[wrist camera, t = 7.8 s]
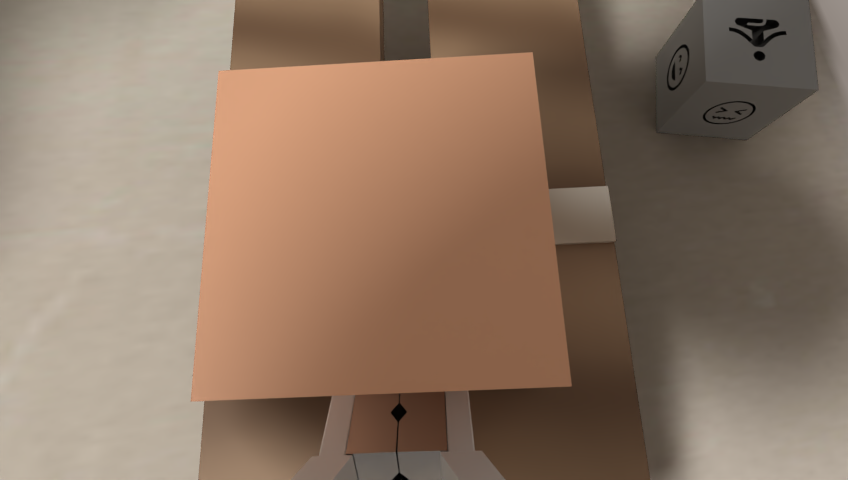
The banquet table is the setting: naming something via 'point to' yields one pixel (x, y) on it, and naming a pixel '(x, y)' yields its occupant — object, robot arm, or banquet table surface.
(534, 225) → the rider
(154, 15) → the banquet table surface
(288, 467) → the balance beam
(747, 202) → the banquet table surface
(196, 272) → the banquet table surface
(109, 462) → the banquet table surface
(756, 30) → the dice cube
